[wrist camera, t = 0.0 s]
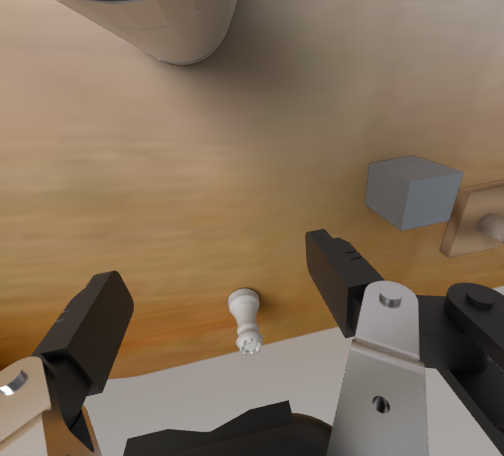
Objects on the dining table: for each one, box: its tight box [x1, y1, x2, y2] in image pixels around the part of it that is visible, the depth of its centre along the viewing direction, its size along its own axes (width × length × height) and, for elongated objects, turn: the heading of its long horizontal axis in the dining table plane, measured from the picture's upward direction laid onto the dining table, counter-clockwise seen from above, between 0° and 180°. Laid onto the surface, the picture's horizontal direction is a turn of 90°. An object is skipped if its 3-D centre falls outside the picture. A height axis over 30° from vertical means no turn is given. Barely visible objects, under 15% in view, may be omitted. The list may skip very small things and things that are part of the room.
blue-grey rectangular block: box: [365, 155, 464, 231], centre depth 26 cm, size 5×5×7 cm
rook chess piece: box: [228, 288, 263, 355], centre depth 32 cm, size 4×4×8 cm
